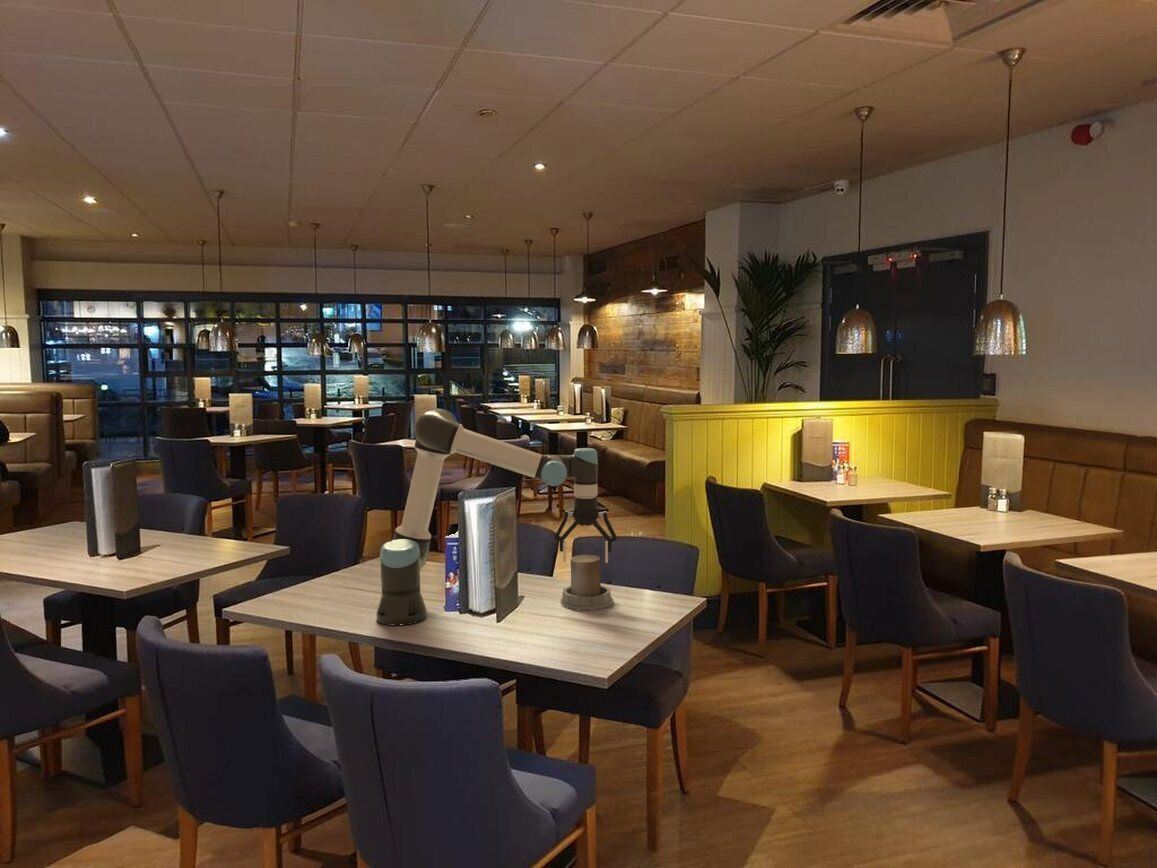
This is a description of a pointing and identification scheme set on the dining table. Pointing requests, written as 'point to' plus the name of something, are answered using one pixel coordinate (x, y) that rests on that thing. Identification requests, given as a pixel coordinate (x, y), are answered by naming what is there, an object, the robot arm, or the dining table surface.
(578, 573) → the pillar candle
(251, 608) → the dining table surface
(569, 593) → the candle dish
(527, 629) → the dining table surface
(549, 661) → the dining table surface
